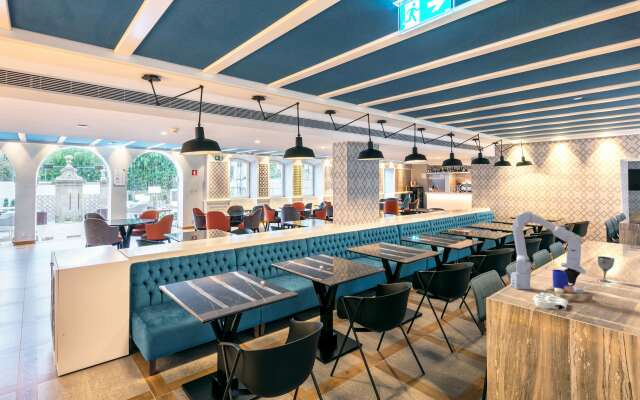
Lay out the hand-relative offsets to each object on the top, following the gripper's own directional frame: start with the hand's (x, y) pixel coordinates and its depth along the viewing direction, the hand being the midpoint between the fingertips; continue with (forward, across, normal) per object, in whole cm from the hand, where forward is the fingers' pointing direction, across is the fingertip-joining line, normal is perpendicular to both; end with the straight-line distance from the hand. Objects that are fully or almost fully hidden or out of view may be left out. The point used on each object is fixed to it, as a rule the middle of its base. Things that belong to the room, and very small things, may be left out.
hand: (571, 283), depth 173 cm
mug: (+8, +16, -8) cm, 20 cm away
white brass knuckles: (+8, -10, +19) cm, 23 cm away
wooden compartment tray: (+8, 0, +1) cm, 8 cm away
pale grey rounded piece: (+6, 0, +7) cm, 9 cm away
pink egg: (+5, 0, +1) cm, 5 cm away
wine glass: (+8, +34, -47) cm, 59 cm away
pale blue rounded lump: (+6, 0, -4) cm, 7 cm away
